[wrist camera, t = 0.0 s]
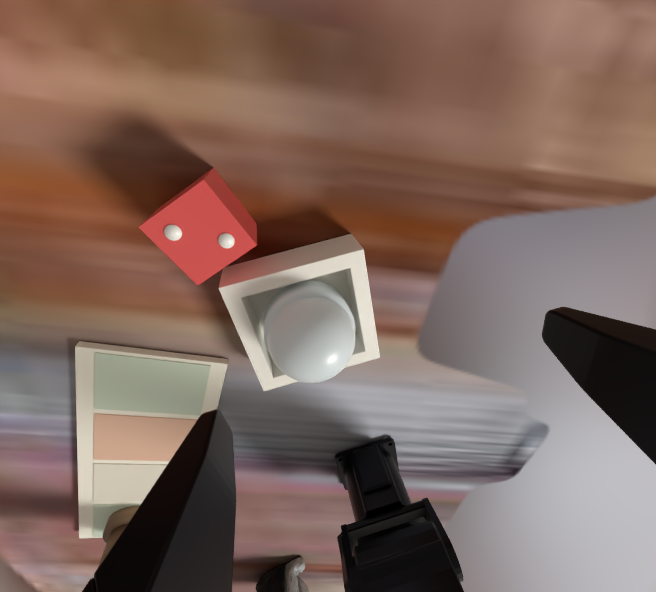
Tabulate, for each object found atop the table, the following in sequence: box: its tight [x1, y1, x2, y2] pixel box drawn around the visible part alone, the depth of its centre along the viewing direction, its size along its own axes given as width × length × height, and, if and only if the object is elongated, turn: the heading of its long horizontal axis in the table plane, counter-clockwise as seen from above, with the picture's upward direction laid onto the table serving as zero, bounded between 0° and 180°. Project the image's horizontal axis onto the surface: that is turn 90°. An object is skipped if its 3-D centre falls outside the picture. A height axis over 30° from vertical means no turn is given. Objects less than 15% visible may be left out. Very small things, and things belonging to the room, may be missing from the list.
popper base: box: [219, 234, 380, 391], centre depth 23 cm, size 9×9×3 cm
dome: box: [263, 281, 355, 383], centre depth 20 cm, size 6×6×6 cm
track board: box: [75, 341, 228, 538], centre depth 28 cm, size 24×10×1 cm, turn 161°
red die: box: [139, 168, 257, 285], centre depth 18 cm, size 4×4×4 cm
